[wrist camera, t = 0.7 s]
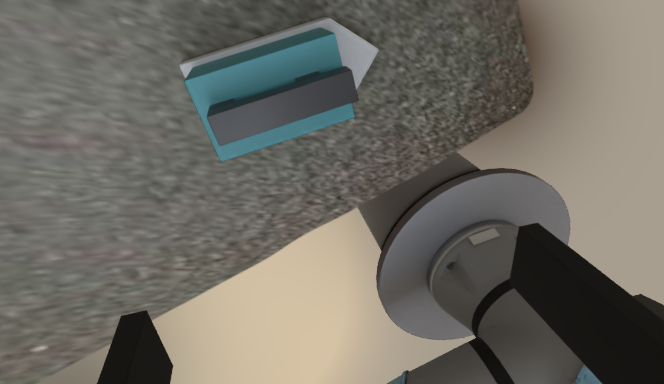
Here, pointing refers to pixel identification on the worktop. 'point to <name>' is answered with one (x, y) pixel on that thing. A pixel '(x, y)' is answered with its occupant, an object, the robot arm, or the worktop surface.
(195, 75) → the teal slab with bar
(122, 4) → the worktop surface
